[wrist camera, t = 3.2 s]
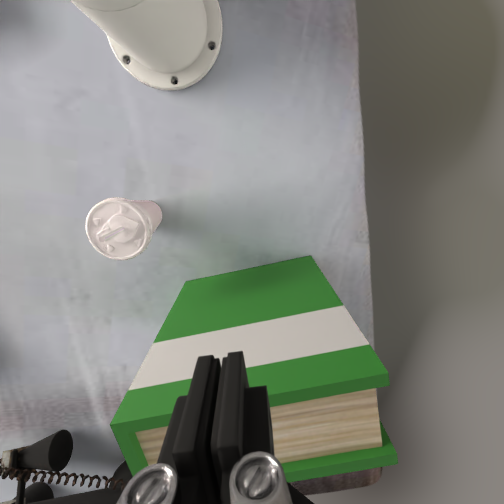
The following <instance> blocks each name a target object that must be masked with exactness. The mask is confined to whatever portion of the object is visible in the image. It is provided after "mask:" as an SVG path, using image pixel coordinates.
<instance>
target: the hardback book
mask: <svg viewBox="0 0 504 504" xmlns="http://www.w3.org/2000/svg"><path fill="white" fill-rule="evenodd" d="M237 351H243V355H244V360H245V366H246V372H247V377H248V383H249V387H256V386H264V385H266V386H267V391H268V398H269V404H270V411H271V420H272V430H273V442H274V454H275V457H276V458H277V459H278V460H279V461H280V463H281V465H282V467H283V470H284V473H285V477H286V481H287V482H294V481H300V480H306V479H312V478H318V477H324V476H330V475H336V474H341V473H347V472H353V471H359V470H365V469H371V468H377V467H383V466H389V465H395V464H398V460H397V453H396V451H395V449H394V447H393V445H392V443H391V441H390V439H389V437H388V435H387V433H386V431H385V429H384V427H383V425H382V423H381V421H380V419H379V414H378V405H377V397H376V389H375V388H379V387H384V386H389V385H390V383H389V374H388V372H387V370H386V369H385V367H384V366H383V364H382V363H381V361H380V360H379V358H378V356H377V355H376V353H375V352H374V350H373V349H372V347H371V346H370V344H369V343H368V341H367V340H366V338H365V337H364V335H363V334H362V332H361V331H360V329H359V328H358V326H357V325H356V323H355V322H354V320H353V319H352V317H351V316H350V314H349V313H348V311H347V310H346V308H345V306H344V305H343V303H342V302H341V300H340V299H339V297H338V296H337V294H336V293H335V291H334V290H333V288H332V287H331V285H330V284H329V282H328V281H327V279H326V278H325V276H324V275H323V273H322V272H321V270H320V269H319V267H318V266H317V264H316V263H315V261H314V259H313V258H312V256H306V257H301V258H296V259H291V260H287V261H282V262H277V263H272V264H268V265H263V266H258V267H253V268H248V269H244V270H239V271H234V272H229V273H224V274H220V275H215V276H210V277H205V278H200V279H196V280H191V281H186V282H185V284H184V286H183V288H182V290H181V292H180V294H179V295H178V297H177V299H176V301H175V303H174V305H173V307H172V309H171V310H170V312H169V314H168V316H167V318H166V320H165V322H164V324H163V326H162V327H161V329H160V331H159V333H158V335H157V337H156V339H155V341H154V342H153V344H152V346H151V348H150V350H149V352H148V354H147V356H146V358H145V359H144V361H143V363H142V365H141V367H140V369H139V371H138V373H137V374H136V376H135V378H134V380H133V382H132V384H131V386H130V388H129V390H128V391H127V393H126V395H125V397H124V399H123V401H122V403H121V405H120V406H119V408H118V410H117V412H116V414H115V416H114V418H113V420H112V422H111V423H110V426H111V429H112V431H113V433H114V435H115V438H116V440H117V442H118V444H119V447H120V449H121V451H122V453H123V456H124V458H125V460H126V462H127V465H128V467H129V469H130V471H131V474H132V476H134V475H135V474H136V473H138V472H139V471H141V470H142V469H143V468H145V467H147V466H150V465H152V464H156V463H157V460H158V457H159V454H160V451H161V447H162V444H163V441H164V438H165V435H166V431H167V428H168V425H169V422H170V419H171V415H172V412H173V409H174V406H175V403H176V400H177V398H178V397H179V396H185V395H188V392H189V388H190V384H191V381H192V377H193V373H194V369H195V366H196V362H197V359H198V357H199V356H206V355H214V358H219V359H220V364H221V365H222V359H223V357H227V355H228V353H229V352H237Z"/></svg>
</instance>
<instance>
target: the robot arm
mask: <svg viewBox="0 0 504 504" xmlns="http://www.w3.org/2000/svg"><path fill="white" fill-rule="evenodd" d="M70 1H71V2H72V3H73V4H74V5H76V6H77V7H78V8H79V9H80V10H81V11H82V12H83V13H84V14H86V15H87V16H88V17H89V18H90V19H91V20H92V21H93V22H94V23H96V24H97V25H98V26H99V27H100V28H101V29H102V30H103V31H104V32H105V33H106V34H107V37H108V40H109V43H110V46H111V48H112V50H113V52H114V54H115V56H116V58H117V59H118V60H119V62H120V63H121V64H122V66H123V67H124V68H125V69H126V70H127V71H128V72H129V73H130V74H131V75H132V76H133V77H135V78H136V79H137V80H139V81H140V82H142V83H144V84H146V85H148V86H150V87H153V88H156V89H159V90H168V91H172V90H181V89H184V88H187V87H190V86H192V85H193V84H195V83H197V82H198V81H200V80H201V79H202V78H203V77H204V76H205V75H206V74H207V73H208V72H209V70H210V69H211V68H212V66H213V65H214V63H215V61H216V58H217V56H218V54H219V50H220V47H221V43H222V33H223V26H222V16H221V10H220V6H219V3H218V0H70ZM212 46H214V47H215V49H214V50H211V49H210V48H211V47H212ZM128 60H131V62H130V63H129V64H128ZM175 80H177V81H178V83H177V84H174V81H175ZM117 504H314V503H313V502H311V501H310V500H309V499H308V498H306V497H305V496H304V495H303V494H301V493H300V492H299V491H298V490H297V489H295V488H294V487H293V486H292V485H290V484H289V483H288V482H287V481H286V477H285V473H284V470H283V467H282V465H281V463H280V461H279V460H278V459H277V458H276V457H275V454H274V442H273V430H272V420H271V411H270V404H269V398H268V391H267V386H266V385H264V386H256V387H249V383H248V377H247V372H246V366H245V360H244V355H243V351H237V352H229V353H228V355H227V357H223V359H222V365H221V364H220V359H219V358H214V355H206V356H199V357H198V359H197V362H196V366H195V369H194V373H193V377H192V381H191V384H190V388H189V392H188V395H185V396H179V397H178V398H177V400H176V403H175V406H174V409H173V412H172V415H171V419H170V422H169V425H168V428H167V431H166V435H165V438H164V441H163V444H162V447H161V451H160V454H159V457H158V460H157V463H156V464H152V465H150V466H147V467H145V468H143V469H142V470H141V471H139V472H138V473H136V474H135V475H134V476H133V478H132V479H131V480H130V481H129V482H128V484H127V485H126V487H125V489H124V490H123V492H122V494H121V496H120V498H119V500H118V502H117Z"/></svg>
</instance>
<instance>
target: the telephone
mask: <svg viewBox="0 0 504 504" xmlns="http://www.w3.org/2000/svg"><path fill="white" fill-rule="evenodd" d="M72 450H73V440H72V436H71V434H70V433H69V432H68V431H67V430H61V431H59V432H57V433H55V434H53V435H51V436H49V437H47V438H45V439H43V440H41V441H39V442H37V443H35V444H33V445H30V446H26V447H21V448H17V449H12V450H8V451H3V455H2V458H1V459H0V464H1V466H0V476H2V479H5V478H6V477H7V476H8V474H9V478H10V479H11V480H12V479H13V478H15V477H17V480H18V487H17V496H16V497H15V498H14V499H13V500H10V501H6V502H2V503H0V504H117V502H118V500H119V498H120V496H121V494H122V492H123V490H124V489H125V487H126V485H127V484H128V482H129V481H130V480H131V479H132V478H133V476H132V474H131V471H130V469H129V467H128V465H127V462H126V460H125V461H124V462H123V463H122V464H121V465H120V466H119V467H118V468H117V470H116V471H115V473H114V475H113V477H112V478H110V479H109V480H108V478H107V477H106V476H103V479H105V480H106V483H105V489H99V490H94V491H89V492H84V493H79V494H74V495H69V496H64V497H59V498H54V496H53V492H52V489H51V488H50V486H49V485H48V484H51V482H52V481H53V476H54V475H55V474H57V475H58V480H57V482H56V484H59V483H60V481H61V477H62V476H64V475H65V476H66V480H65V482H64V485H67V483H68V481H69V478H70V477H71V476H74V480H73V484H72V486H74V485H75V484H76V481H77V478H78V477H79V475H78V476H77V475H76V474H75V473H72V474H70V475H68V473H66V472H63V473H62V474H60V472H59V471H61V470H63V469H64V468H65V467H66V466H67V464H68V462H69V460H70V458H71V455H72ZM36 469H40V470H47V471H49V472H47V473H48V474H50V475H51V476H50V478H49V480H48V484H46V483H44V482H43V481H44V479H43V478H46V474H47V473H46V472H45V471H39V472H37V471H36ZM52 471H54V472H55V473H53V472H52ZM32 472H33V473H35V476H34V477H33V479H32V482H33V483H34V482H35V481H36V480H37V476H38V475H39V474H40V473H41V474H43V476H42V477H41V479H40V482H36V483H34V484H32V485H30V486H28V487H27V488H26V489H25V485H26V482H27V481H28V480H29V479H30V476H31V473H32ZM80 476H81V477H82V482H81V483H80V487H81V486H83V485H84V482H85V479H86V478H88V477H90V476H89V475H87V476H84V474H80ZM95 478H96V479H98V482H97V484H96V488H99V486H100V481H101V479H100V478H99V477H98V475H95V476H93V477H90V483H89V485H88V488H89V487H90V486H91V485H92V482H93V480H94V479H95ZM110 481H111V482H110ZM109 482H110V485H109V488H107V487H108V483H109Z"/></svg>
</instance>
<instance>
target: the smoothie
mask: <svg viewBox="0 0 504 504" xmlns="http://www.w3.org/2000/svg"><path fill="white" fill-rule="evenodd" d="M161 220H162V211H161V209H160V207H159V206H158V205H157V204H156V203H154V202H152V201H148V200H128V199H125V198H118V197H114V198H109V199H106V200H104V201H101V202H99V203H98V204H96V205H95V206H94V207H93V208H92V209H91V210H90V212H89V214H88V216H87V219H86V233H87V236H88V239H89V241H90V242H91V244H92V245H93V247H94V248H95V249H96V250H97V251H98V252H99V253H101V254H102V255H104V256H106V257H108V258H111V259H115V260H128V259H131V258H134V257H136V256H137V255H139V254H141V253H142V252H143V251H144V250H145V249H146V248H147V246H148V245H149V243H150V241H151V237H152V234H153V233H154V231H155V230H156V228H157V227H158V225H159V224H160V222H161Z"/></svg>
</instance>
